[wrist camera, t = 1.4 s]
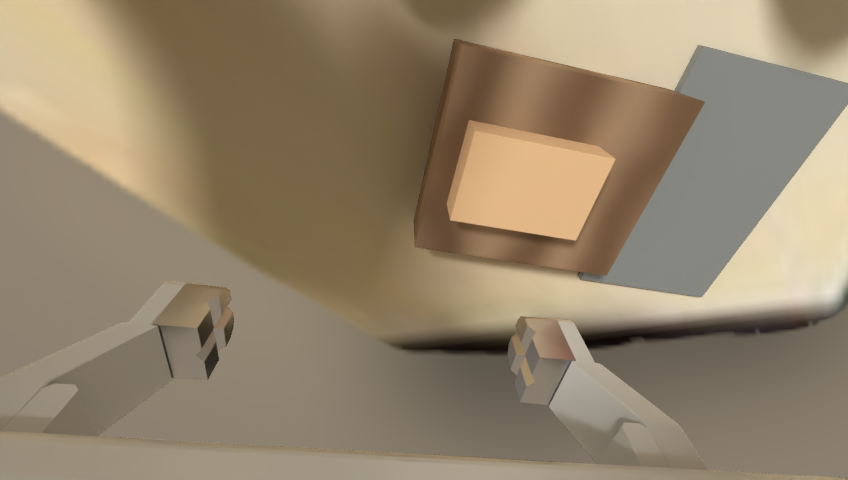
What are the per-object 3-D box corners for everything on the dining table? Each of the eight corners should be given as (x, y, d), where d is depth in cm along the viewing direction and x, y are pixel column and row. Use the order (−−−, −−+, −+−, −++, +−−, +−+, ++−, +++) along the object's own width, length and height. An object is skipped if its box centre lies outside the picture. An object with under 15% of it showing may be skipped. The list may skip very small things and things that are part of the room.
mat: (578, 275, 37) (580, 279, 36) (698, 45, 26) (704, 46, 26) (697, 293, 38) (701, 297, 38) (852, 84, 28) (861, 86, 28)
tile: (446, 203, 27) (450, 220, 25) (468, 120, 24) (474, 131, 22) (563, 223, 29) (575, 240, 27) (598, 146, 26) (615, 159, 24)
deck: (413, 221, 33) (415, 247, 29) (454, 39, 25) (462, 45, 22) (586, 248, 35) (606, 275, 32) (668, 89, 28) (705, 101, 24)
